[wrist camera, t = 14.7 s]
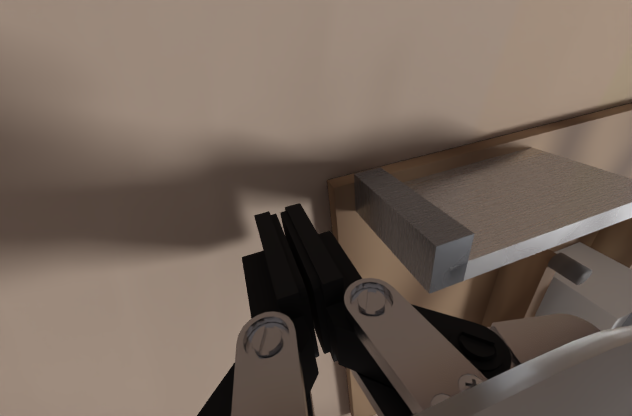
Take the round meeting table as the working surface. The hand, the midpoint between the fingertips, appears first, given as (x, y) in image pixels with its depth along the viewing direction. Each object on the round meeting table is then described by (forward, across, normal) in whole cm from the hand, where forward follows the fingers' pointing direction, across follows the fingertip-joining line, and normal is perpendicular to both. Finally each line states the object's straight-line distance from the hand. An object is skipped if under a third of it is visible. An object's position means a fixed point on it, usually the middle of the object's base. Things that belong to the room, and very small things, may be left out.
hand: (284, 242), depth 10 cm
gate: (+1, -8, 0) cm, 8 cm away
